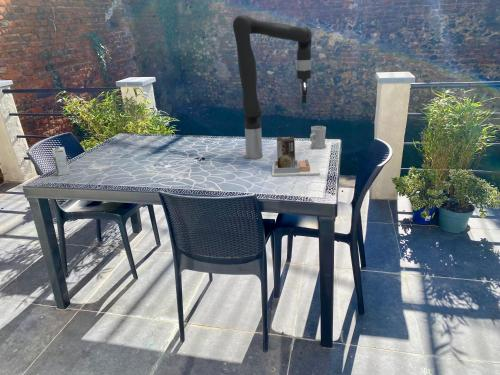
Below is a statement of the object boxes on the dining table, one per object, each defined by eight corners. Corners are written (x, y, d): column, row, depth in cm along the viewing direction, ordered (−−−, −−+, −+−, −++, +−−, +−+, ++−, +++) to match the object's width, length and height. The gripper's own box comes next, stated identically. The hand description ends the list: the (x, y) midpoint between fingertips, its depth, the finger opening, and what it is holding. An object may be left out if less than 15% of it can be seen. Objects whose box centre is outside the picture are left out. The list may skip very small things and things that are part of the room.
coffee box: (295, 166, 208) (294, 136, 202) (295, 170, 202) (295, 140, 196) (277, 166, 209) (276, 137, 203) (277, 171, 203) (276, 140, 197)
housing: (272, 176, 199) (272, 170, 198) (272, 165, 214) (272, 159, 213) (320, 175, 198) (320, 168, 196) (316, 164, 212) (316, 158, 211)
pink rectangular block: (299, 171, 201) (299, 165, 199) (298, 165, 210) (298, 159, 209) (309, 171, 200) (309, 165, 199) (308, 164, 210) (308, 158, 208)
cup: (325, 150, 235) (325, 130, 231) (309, 149, 237) (309, 130, 232) (325, 144, 245) (326, 125, 240) (310, 144, 246) (311, 125, 242)
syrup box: (58, 172, 222) (52, 147, 216) (69, 171, 224) (63, 146, 218) (57, 176, 217) (51, 150, 211) (69, 174, 219) (63, 149, 213)
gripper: (295, 68, 211) (296, 100, 217) (297, 70, 199) (297, 105, 205) (310, 67, 210) (309, 100, 217) (312, 70, 198) (312, 104, 205)
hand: (303, 102), depth 211 cm, fingers closed
